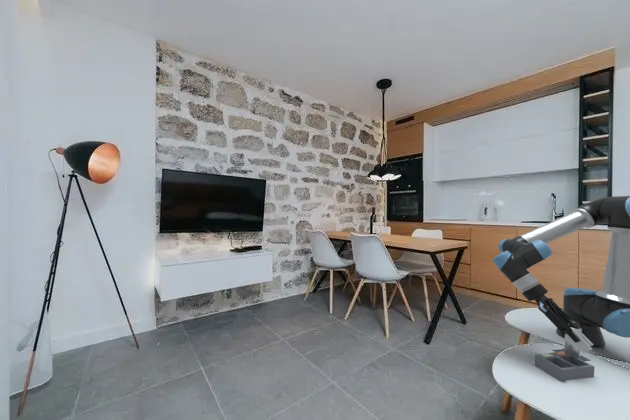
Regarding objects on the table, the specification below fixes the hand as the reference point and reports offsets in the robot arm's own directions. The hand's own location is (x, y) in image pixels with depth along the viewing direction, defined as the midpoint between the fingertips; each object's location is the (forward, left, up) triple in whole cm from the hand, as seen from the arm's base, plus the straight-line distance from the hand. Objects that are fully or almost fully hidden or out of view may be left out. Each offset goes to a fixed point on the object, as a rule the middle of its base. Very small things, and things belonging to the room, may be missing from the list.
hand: (588, 348), depth 88 cm
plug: (+2, -3, -4) cm, 6 cm away
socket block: (+5, -4, -10) cm, 12 cm away
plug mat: (-9, -11, -10) cm, 18 cm away
